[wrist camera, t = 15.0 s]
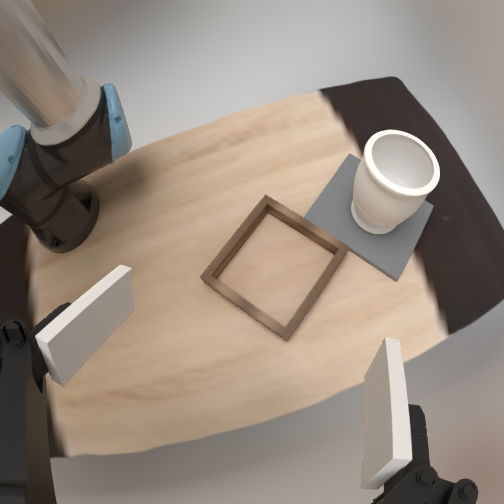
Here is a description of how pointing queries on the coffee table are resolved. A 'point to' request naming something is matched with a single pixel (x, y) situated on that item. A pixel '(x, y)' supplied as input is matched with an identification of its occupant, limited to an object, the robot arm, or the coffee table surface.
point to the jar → (392, 180)
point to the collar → (242, 235)
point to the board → (360, 241)
